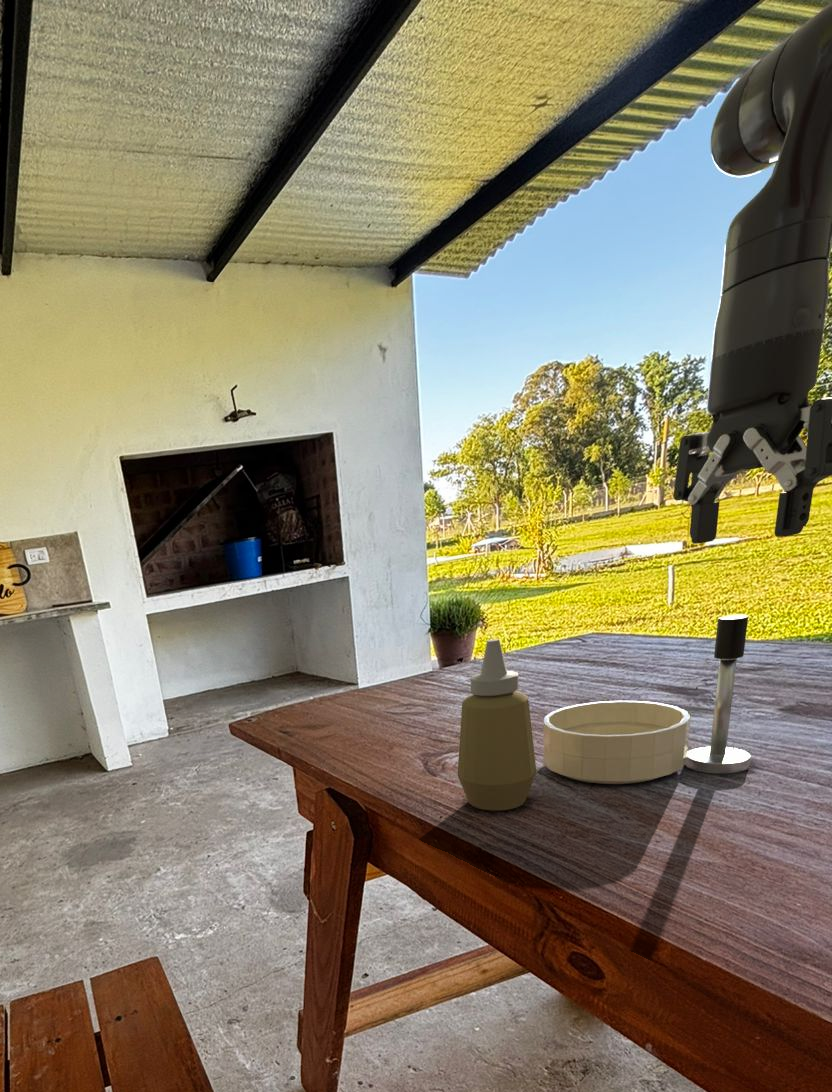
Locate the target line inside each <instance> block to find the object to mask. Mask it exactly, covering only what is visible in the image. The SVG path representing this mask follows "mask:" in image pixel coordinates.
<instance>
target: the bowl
mask: <svg viewBox="0 0 832 1092" xmlns="http://www.w3.org/2000/svg"><path fill="white" fill-rule="evenodd" d="M691 718H692V717H691V715H690V714H689V713H688V711H687V710H686V709H683V708H680V707H678V706H675V705H671V704H667V703H661V702H654V701H643V700H607V701H593V702H587V703H579V704H573V705H570V706H564V707H561V708H558V709H556V710H553V711H551V712H550V713H548V714H547V715H546V716H544V717H543V747H542V748H543V751H542V753H543V754H542V755H543V757H542V759H543V765H544V766H545V767H546V768H547V769H548V770H549V771H551V772H553V773H556V774H559V775H561V776H564V777H567V778H568V779H572V780H576V781H580V782H585V783H592V784H603V785H625V784H626V785H627V784H637V783H642V782H643V783H644V782H648V781H653V780H655V779H659V778H662V777H664V776H665V777H666V776H670V775H672V774H674V773H676V772H677V771H679V770H681V769H683V768H684V766H685V763H686V760H687V752H688V751H689V750H688V749H689V738H690V727H691Z"/></svg>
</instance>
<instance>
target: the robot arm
mask: <svg viewBox="0 0 832 1092" xmlns="http://www.w3.org/2000/svg"><path fill="white" fill-rule="evenodd" d="M710 154H711V158H712V161H713V163H714V165H715V167H716V168H717V169H718V170H719V171H720V172H722V173H723V174H725V175H727V176H730V177H735V178H745V177H750V176H753V175H756V174H759V173H761V172H764V171H765V170H767V169H769V168H771V167H772V166H774V167H773V170H772V173H771V174H770V176H769V179H768V180H767V181H766V183H765V184H764V186H763V187H762V188H761V189H760V190H759V191H758V193H757V194H756V195H754V196H753V197H752V198H751V199H750V201H749V202H747V203H746V204H745V205H744V206H743V208H741V209H740V210H739V211H738V212H737V214H736V215H735V216H734V217H733V219H732V220H731V222H730V223H729V226H728V229H727V234H726V238H725V243H724V255H723V267H722V276H721V277H722V278H721V288H720V297H719V303H718V309H717V314H716V317H715V323H714V329H713V335H712V348H711V359H710V369H709V381H708V390H707V392H708V393H707V404H706V411H707V413H708V414H710V416H711V417H712V424H711V426H710V429H709V431H704V432H696V433H691V434H688V435H687V434H686V435H684V436H682V437H681V438H680V441H679V446H678V455H677V464H676V470H675V480H674V489H673V499H674V500H675V501H676V502H677V501H684V502H687V503H688V505H690V506H691V513H690V526H689V537H690V539H691V543H692V544H694V545H698V544H704V543H710V542H713V541H714V540H715V539H716V538H717V532H718V521H719V510H720V503H721V502H720V501H716V500H718V498H719V497H720V496H721V494H722V492H723V491H724V489H725V488H726V486H727V484H729V482H731V481H732V480H734V479H735V478H736V477H737V475H738V474H739V473H740V472H745V471H751V470H755V469H756V470H757V469H760V468H761V469H762V468H763V469H764V470H765V472H767V473H768V474H771V475H772V476H774V478H775V479H776V481H777V482H778V484H779V485H780V487H781V488H782V490H783V491H785V492H780V493H779V495H778V502H777V510H776V518H775V524H774V525H775V527H774V536H775V537H777V538H781V537H782V538H783V537H789V536H794V535H798V534H800V533H801V532H803V529H804V527H806V526H807V524H808V522H809V521H810V514H811V513H810V512H811V508H812V502H813V501H812V500H813V494H814V489H815V488H816V486H817V484H819V483H820V482H821V481H823V480H825V479H827V478H829V477H831V476H832V397H826V398H820V399H816V400H815V401H814V402H813V403H812V404H810V403H809V393H810V392H811V391H812V390H813V389H814V388H815V385H816V384H817V379H818V374H819V373H818V372H819V366H820V365H819V364H820V357H821V352H822V345H823V339H824V338H823V337H824V330H825V325H826V316H827V309H828V302H829V295H830V294H829V293H830V276H829V275H830V274H829V273H830V270H829V269H830V259H831V253H832V2H831V3H830V4H828V5H826V6H825V7H824V8H822V9H821V10H820V11H819V12H818V13H816V14H815V15H814V16H812V17H811V18H810V19H809V20H808V21H806V22H805V23H804V24H803V25H802V26H800V27H799V28H798V29H797V30H795V31H794V32H793V33H792V34H791V35H789V36H788V37H787V38H786V39H785V40H783V41H782V42H781V43H780V44H778V45H777V46H776V47H775V48H774V49H772V50H771V51H770V52H769V53H767V54H766V55H765V56H764V57H762V58H761V59H760V60H759V61H758V62H756V63H755V64H754V65H753V66H751V67H750V68H749V69H748V70H747V71H745V73H743V75H742V76H741V77H739V79H737V81H736V82H735V84H734V85H733V86H732V87H731V89H730V90H729V92H728V93H727V95H726V96H725V98H724V100H723V101H722V103H721V106H720V107H719V109H718V112H717V114H716V116H715V119H714V122H713V125H712V129H711V135H710ZM805 429H806V430H807V437H806V438H807V440H806V443H805V442H804V440H803V439H802V437H801V436H800V435H801V433H802V431H803V430H805ZM710 452H711V454H710ZM690 475H691V479H690ZM690 480H691V481H690ZM689 483H690V485H689Z"/></svg>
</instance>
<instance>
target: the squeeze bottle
mask: <svg viewBox="0 0 832 1092" xmlns="http://www.w3.org/2000/svg"><path fill="white" fill-rule="evenodd" d="M460 716H461V717H460V729H459V731H460V732H459V747H458V759H457V760H458V762H457V778H458V780H459V782H460V785H461V787H462V790H463V792H464V794H465V796H466V799H467V802H468V803H469V804H470V805H471V806H472V807H474V808H477V809H480V810H485V811H492V812H493V811H506V810H507V811H508V810H514V809H516V808H518V807H521V806H523V804H525V802H526V800H527V798H528V795H529V793H530V790H531V787H532V785H533V783H534V780H535V778H536V776H537V764H536V755H535V745H534V736H533V729H532V720H531V711H530V702H529V697H528V695H527V694H525V693H524V692H522V691H519V673H518V672H517V671H513V670H508V668H507V664H506V660H505V655H504V652H503V649H502V644H501V640H500V638H492V639H487V640H486V645H485V649H484V654H483V659H482V665H481V669H480V673H477V674H474V675H472V676H470V695H468V696H467V697H466V698H464V700H462V702H461V715H460Z"/></svg>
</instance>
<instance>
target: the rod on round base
mask: <svg viewBox="0 0 832 1092" xmlns="http://www.w3.org/2000/svg"><path fill="white" fill-rule="evenodd" d="M748 623H749V615H748V614H747V615H746V614H732V615H724V616H720V617H718V618H717V624H716V633H715V642H714V643H715V644H714V653H713V657H714V659H718V660H719V662H718V672H717V679H716V689H715V690H716V691H715V699H714V709H713V717H712V727H711V736H710V745H709V746H705V747H698V748H693V749H689V750H687V760H686V763H685V764H684V766H686V768H688V769H690V770H692V771H696V772H700V773H705V774H714V775H715V774H716V775H717V774H719V775H725V774H726V775H727V774H737V773H741V772H745V771H746V770H748V769H749V767H750V763H751V754H750V753H749V752H747V751H746V750H743V749H738V748H736V747H734V748H733V747H728V746H727V745H728V739H729V729H730V722H731V721H730V720H731V711H732V703H733V696H734V687H735V679H736V671H737V670H736V669H737V662H738V659H740V658H743V657H744V656H745V647H746V641H747V639H746V638H747V631H748Z"/></svg>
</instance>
